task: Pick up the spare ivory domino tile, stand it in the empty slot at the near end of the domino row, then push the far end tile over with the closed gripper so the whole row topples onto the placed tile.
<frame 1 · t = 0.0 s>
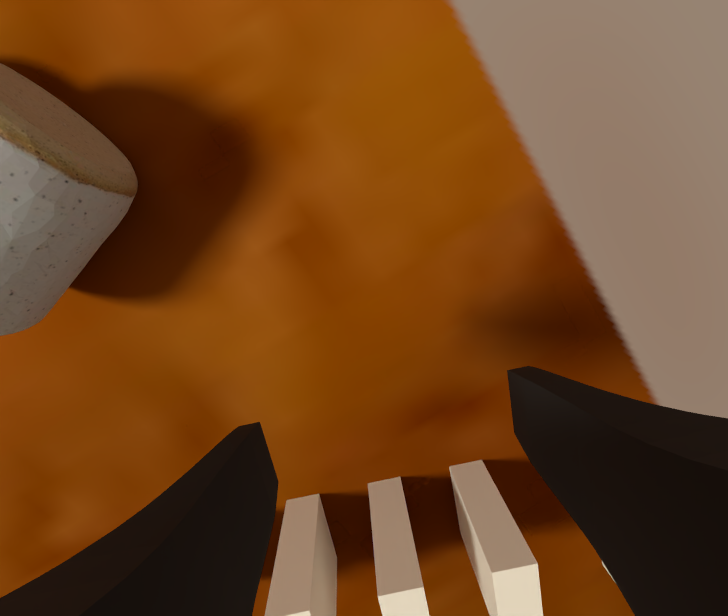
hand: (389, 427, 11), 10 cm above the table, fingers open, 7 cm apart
tile 2: (312, 529, 24), on the table
ceramic mug: (35, 182, 19), on the table
tile 3: (391, 513, 24), on the table
tile 4: (470, 497, 24), on the table
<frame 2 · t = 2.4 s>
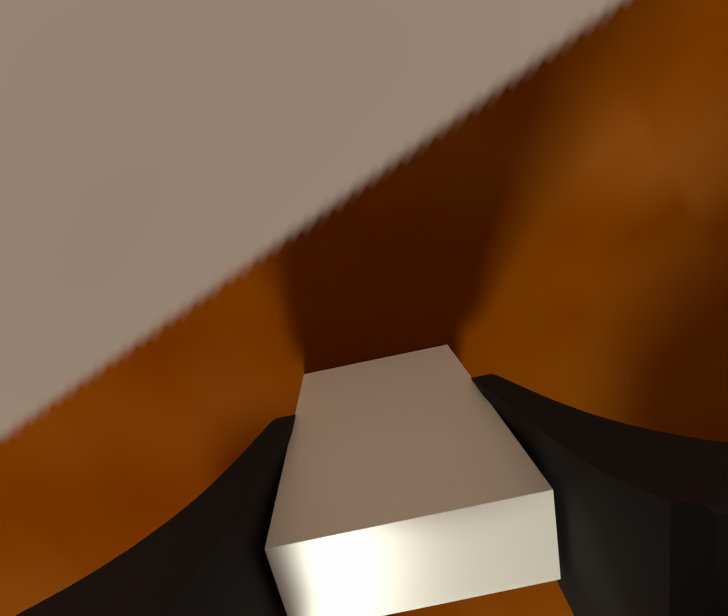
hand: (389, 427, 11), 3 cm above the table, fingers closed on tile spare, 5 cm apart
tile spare: (381, 385, 14), on the table, touching gripper
when the fingers open (3 cm above the table, at t = 5.2 s): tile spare stays where it is, on the table.
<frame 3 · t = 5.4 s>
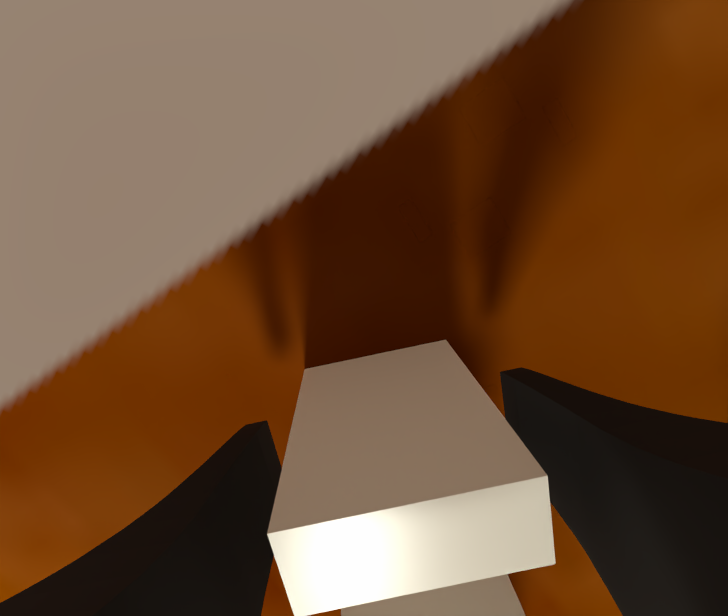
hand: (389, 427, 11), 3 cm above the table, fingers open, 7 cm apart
tile 4: (408, 518, 15), on the table
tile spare: (380, 380, 14), on the table
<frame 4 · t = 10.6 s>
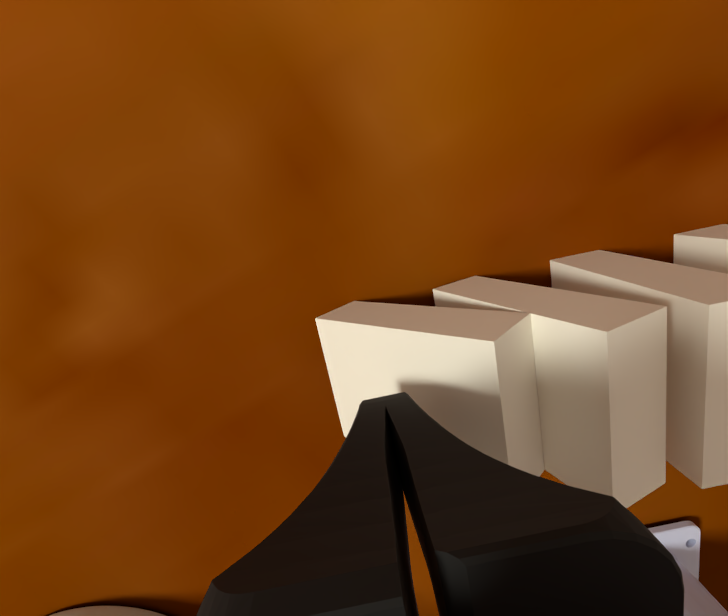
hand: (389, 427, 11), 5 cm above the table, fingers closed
tile 2: (462, 341, 16), on the table, tilted 20°
tile 3: (577, 314, 16), on the table
tile 1: (349, 368, 16), point 1 cm above the table, tilted 42°
tile 4: (696, 289, 16), on the table
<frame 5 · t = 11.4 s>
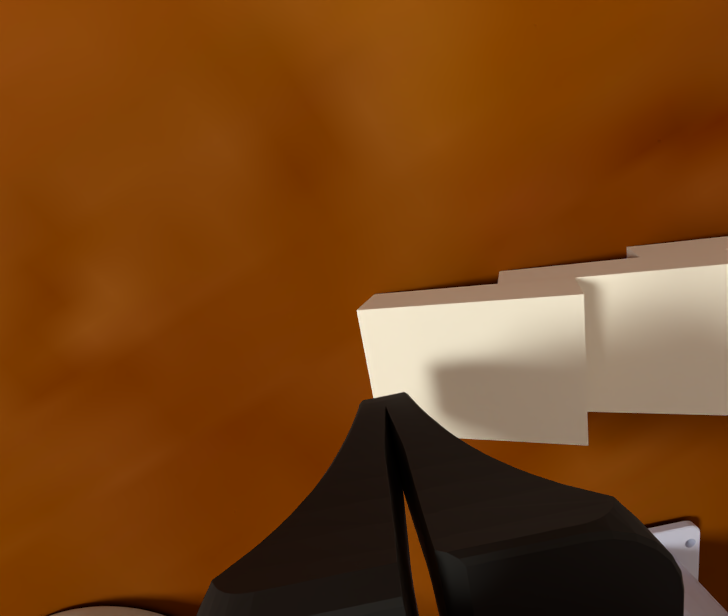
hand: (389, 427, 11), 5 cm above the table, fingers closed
tile 2: (504, 339, 15), point 1 cm above the table, tilted 67°, touching tile 1, tile 3
tile 3: (633, 314, 15), point 1 cm above the table, tilted 66°, touching tile 2, tile 4
tile 1: (377, 362, 15), point 1 cm above the table, tilted 67°, touching tile 2
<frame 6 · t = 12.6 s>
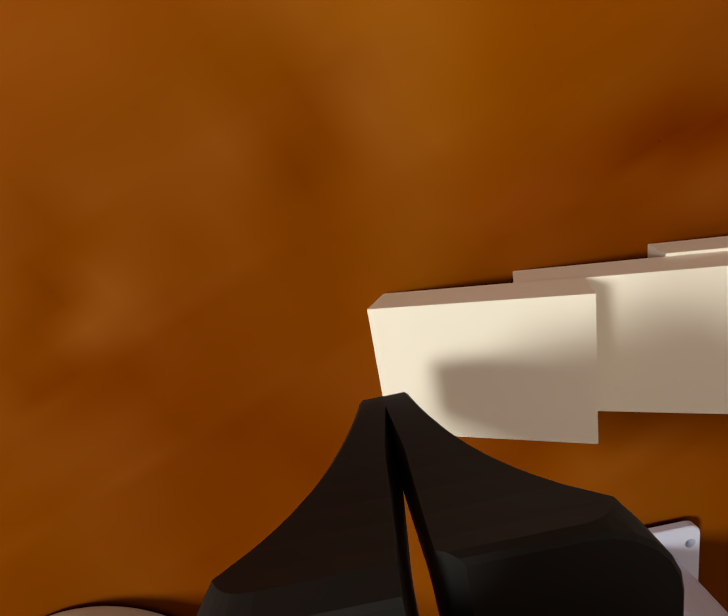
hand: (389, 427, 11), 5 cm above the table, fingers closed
tile 2: (517, 339, 15), point 1 cm above the table, tilted 68°, touching tile 3
tile 3: (654, 311, 15), point 1 cm above the table, tilted 67°, touching tile 2, tile 4
tile 1: (386, 362, 15), point 1 cm above the table, tilted 67°
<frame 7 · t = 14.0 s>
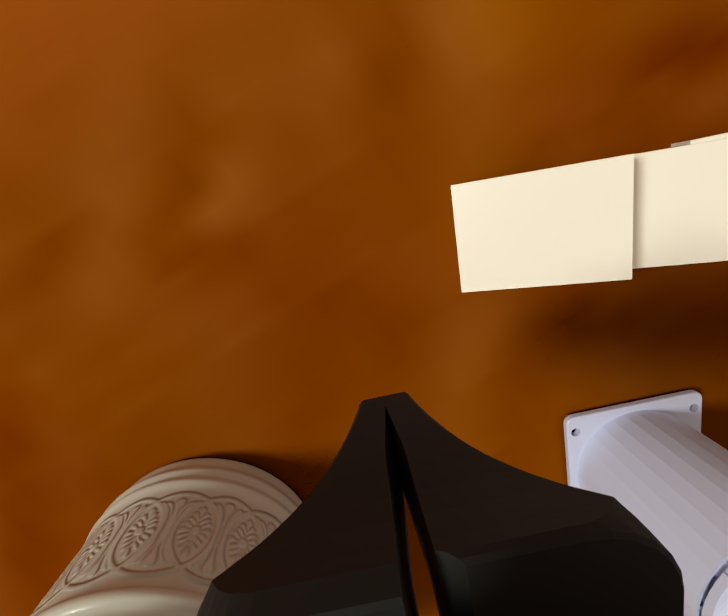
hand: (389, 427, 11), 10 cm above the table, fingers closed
tile 2: (566, 219, 19), point 1 cm above the table, tilted 68°, touching tile 1
tile 1: (458, 237, 19), point 1 cm above the table, tilted 68°, touching tile 2
jar: (216, 539, 24), on the table
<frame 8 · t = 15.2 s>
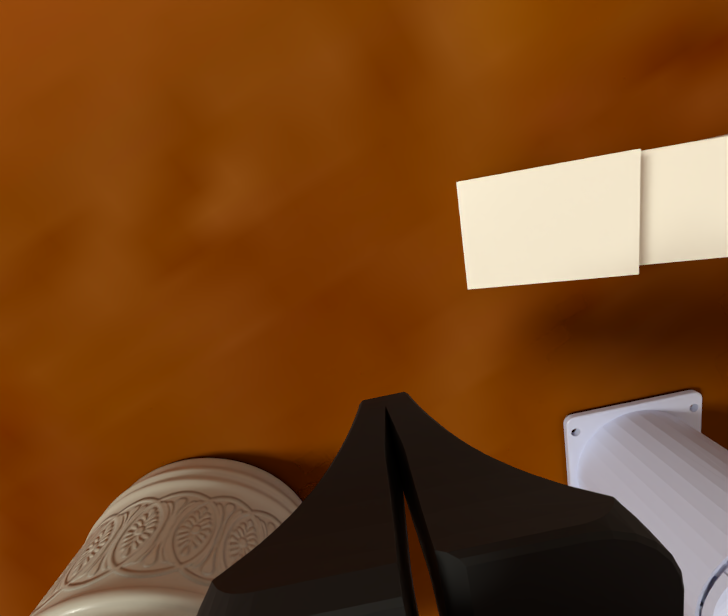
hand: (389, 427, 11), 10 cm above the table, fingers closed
tile 2: (574, 216, 19), point 1 cm above the table, tilted 70°, touching tile 1
tile 1: (464, 234, 19), point 1 cm above the table, tilted 69°, touching tile 2
jar: (216, 539, 24), on the table
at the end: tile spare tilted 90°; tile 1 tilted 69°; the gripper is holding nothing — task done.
